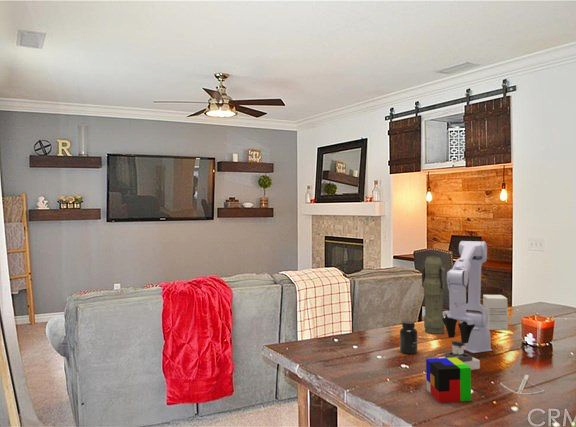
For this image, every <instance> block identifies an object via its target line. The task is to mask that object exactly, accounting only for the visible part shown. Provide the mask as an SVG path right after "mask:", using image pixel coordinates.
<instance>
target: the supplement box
mask: <svg viewBox="0 0 576 427" xmlns="http://www.w3.org/2000/svg"><path fill="white" fill-rule="evenodd" d="M482 299H483V301H482V305H483V306H484V307H485V308H486V309H487V311H488V325H487V327H486V328H488V329H489V331H494V330H495V331H508V330H509V323H508V322H509V321H508V320H509V319H508V315H509V314H508V311H509V310H508V308H509V306H508V303H509V302H508V300H509V299H508V298H507V297H506V296H505V295H502V294H483V295H482Z"/></svg>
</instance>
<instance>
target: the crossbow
mask: <svg viewBox="0 0 576 427" xmlns="http://www.w3.org/2000/svg"><path fill="white" fill-rule="evenodd" d="M529 378H530V375H528V374H524V377H523V378H522V379H521V383H520V386H519V387H518V389H517V391H514V390H512V389H510V388H508V387H507V386H506V385H504V384H503V383H505V381H503V382H500V383H499V384H500V386H502V387H503V388H504V389H507V391H509V392H512V393H514V394H516V395H526V396H529V395H538V394H544V393H545V390H544V389H542V388H540V387H539V386H537V385H535V384H534V383H532V385H533V386H535V387H536V388H538V389H540V390H541V391H540V390H539V391H536V392H528V393H526V392H524V393H523V391H524V389H525V387H526V386H527V383H528V382H529V383H530V381H529ZM515 381H516V382H517V381H519V379H518V380H517V379H516V380H515ZM510 382H512V381H508V383H510Z"/></svg>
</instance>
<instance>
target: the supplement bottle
mask: <svg viewBox="0 0 576 427" xmlns="http://www.w3.org/2000/svg"><path fill="white" fill-rule="evenodd" d="M415 325H416V324H415V322H414V321H410V320H404V321H402V325H401V327H402V328H401V329H400V330H399V351H400V353H402V354H406V355H414V354H418V330H417V329H416V328H415V327H416V326H415Z"/></svg>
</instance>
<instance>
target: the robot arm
mask: <svg viewBox="0 0 576 427" xmlns="http://www.w3.org/2000/svg"><path fill="white" fill-rule="evenodd" d="M458 252H459V256H460V258H457V259H456V260H455V262H454V264H453V266H452V268H451V269H449V270H447V272H446V285H447V290H448V296H449V297H448V298H449V302H448V303H449V305H448V306H449V308H448V309H449V310H443V316H444V318H442V321H443V322H444V327H445V329H446V331H447V332H446V333H447V337H448V338H449V339H452V338H455V336H456V326H457V325H458V328H459V331H460V339H461V340H460V341H462V343H464V351H467V352H469V353H472V354H476V353H477V354H478V353H485V352H491V351H493V349H492V347H491V346H492V345H491V343H492V342H491V341H492V340H491V338H492V337H491V330H489V329H488V328H486V327H487V325H488V311H487V309H486V308H485V307H484V306H483V303H481V294H482V293H481V290H482V288H481V287H482V282H481V281H482V266H483V263H486V262H487V259H488V246H487V242H486V241H485V240H483V241H479V240H478V241H477V240H475V241H472V240H468V241H467V240H461V241H460V242H459V244H458ZM467 285H468V290H467ZM467 291H468V292H467ZM467 294H468V295H467ZM467 297H468V298H467ZM458 321H459V323H458V324H457V322H458Z"/></svg>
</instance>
